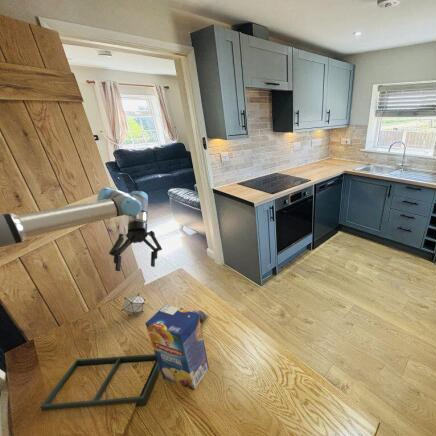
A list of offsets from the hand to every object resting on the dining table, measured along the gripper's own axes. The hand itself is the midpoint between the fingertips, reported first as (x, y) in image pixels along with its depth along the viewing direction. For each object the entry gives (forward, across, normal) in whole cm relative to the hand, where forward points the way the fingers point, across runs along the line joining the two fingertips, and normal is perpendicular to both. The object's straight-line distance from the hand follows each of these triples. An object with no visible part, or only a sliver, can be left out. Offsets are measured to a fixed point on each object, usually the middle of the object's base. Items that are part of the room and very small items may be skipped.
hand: (135, 268), depth 103 cm
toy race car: (+26, -20, +5) cm, 34 cm away
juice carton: (+41, -24, +20) cm, 51 cm away
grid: (+40, -2, +19) cm, 44 cm away
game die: (+18, 0, -3) cm, 18 cm away
